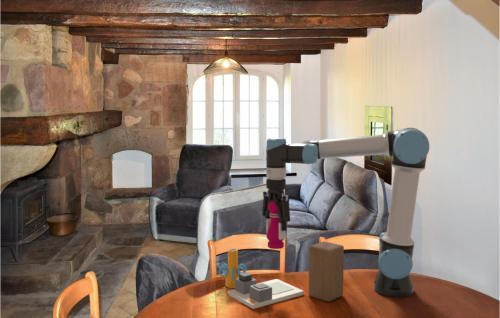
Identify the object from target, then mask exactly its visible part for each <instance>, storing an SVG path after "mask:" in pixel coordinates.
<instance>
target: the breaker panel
mask: <svg viewBox="0 0 500 318" xmlns="http://www.w3.org/2000/svg"><path fill="white" fill-rule="evenodd" d="M259 284H263V285H265V286H268V288H264V289H260V290H259V289H257V288H255V287H254V286H255V285H259ZM304 293H305V290H303V289H301V288H299V287H297V286H293V285H292V284H289V283H287V282H285V281H283V280H280V279H278V278H275V279H271V280H267V281H266V280H265V281H262V282H259V283H257V279H255V278H253V277H252V280H250V281H246V282H243V281H241V280H239V278H235V288H233V289H230V290H227V296H229V297H231V298H233V299H234V300H235V301H237V302H239V303H241V304H242V305H246V306H247V307H248V308H251V309H252V310H254V309H258V308H263V307H265V306H268V305H272V304H276V303H279V302H282V301H287V300H290V299H292V298H296V297H300V296H303V295H305V294H304Z"/></svg>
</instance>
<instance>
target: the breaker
mask: <svg viewBox="0 0 500 318" xmlns="http://www.w3.org/2000/svg"><path fill="white" fill-rule="evenodd" d="M252 278H253V274H252V273H249V272H248V271H246V272H245V273H241V274H239V280H241V281H243V282H246V281H250V280H252Z"/></svg>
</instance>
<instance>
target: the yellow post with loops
mask: <svg viewBox="0 0 500 318" xmlns="http://www.w3.org/2000/svg"><path fill="white" fill-rule="evenodd" d="M238 252H239V250H238V249H237V248H228V249H227V263H221V265H220V266H219V269H218V275H219V276H220V277H221V278H225V287H227V288H228V289H235V278H239V274H241V273H245V272H247V270H248V268H247V265H246V264H244V263H240V264H239V262H238V261H239V257H238V256H239V255H238V254H239V253H238ZM223 269H225V270H226V271H225V270H223ZM240 270H242V271H240ZM221 272H222V273H223V274H222V273H221Z"/></svg>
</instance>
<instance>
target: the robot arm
mask: <svg viewBox="0 0 500 318" xmlns="http://www.w3.org/2000/svg"><path fill="white" fill-rule="evenodd" d="M429 151H430V141H429V138H428V137H427V135H426V134H425V133H424V132H423V131H421V130H419V129H418V128H415V127H406V128H402V129H398V130H391V131H385V133H384V134H377V135H376V134H375V135H365V136H353V137H342V138H329V139H319V140H304V141H302V142H300V143H288V142H287V140H286V138H285V137H270V138H268V139H266V149H265V154H266V155H265V157H266V159H265V160H266V165H265V166H266V169H265V170H266V172H265V173H266V175H265V176H266V182H265V187H266V189H267V190H265V191H263V192H262V196H263V200H262V211H261V212H262V213H261V214H262V216H263V217H265V227H266V229H265V230H266V231H265V232H266V236H267V231H268V229H269V227H270V223H271V217H270V216H269V215H270V214H269V213H270V211H269V209H268V205H269V203H270V202H271V201H275V204H276V205H277V206H278V213H279V218H280V222H279V239H280V240H281V239H284V240H285V239H286V235H287V234H286V231H287V223H288V222H291V211H290V195H289V194H285V191H284V190H285V189H286V186H287V185H286V183H287V181H286V180H287V179H286V178H287V164H298V165H299V164H304V165H311V164H312V165H315V164H317V162H318V160H322V159H325V160H326V159H335V158H336V159H338V158H339V159H340V158H350V157H351V158H353V157H363V156H364V157H365V156H366V157H367V156H368V157H369V156H378V155H379V156H380V155H386V156H387V157H391V162H390V163H391V166H392V167H393V169H394V174H393V182H392V188H391V197H390V204H389V211H388V219H387V226H386V231H384V232H381V233H380V234H379V238H378V242H379V247H378V249H379V250H378V252H379V253H378V260H377V264H378V271H377V274H376V277H375V279H374V282H373V290H374V291H375V292H376V293H378V294H381V295H383V296H387V297H393V298H402V297H403V298H404V297H409V296H411V295H413V294H414V288H415V287H414V283H413V281H412V277H411V274H410V273H411V272H412V269H413V264H414V263H413V254H414V249H415V248H414V247H415V241H414V240H413V238H412V230H413V223H414V217H415V209H416V202H417V196H418V189H419V188H418V187H419V181H420V173H421V172H422V171H424V170H425V169H426V164H427V163H426V162H427V157H428V154H429ZM278 202H281V203H278Z"/></svg>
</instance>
